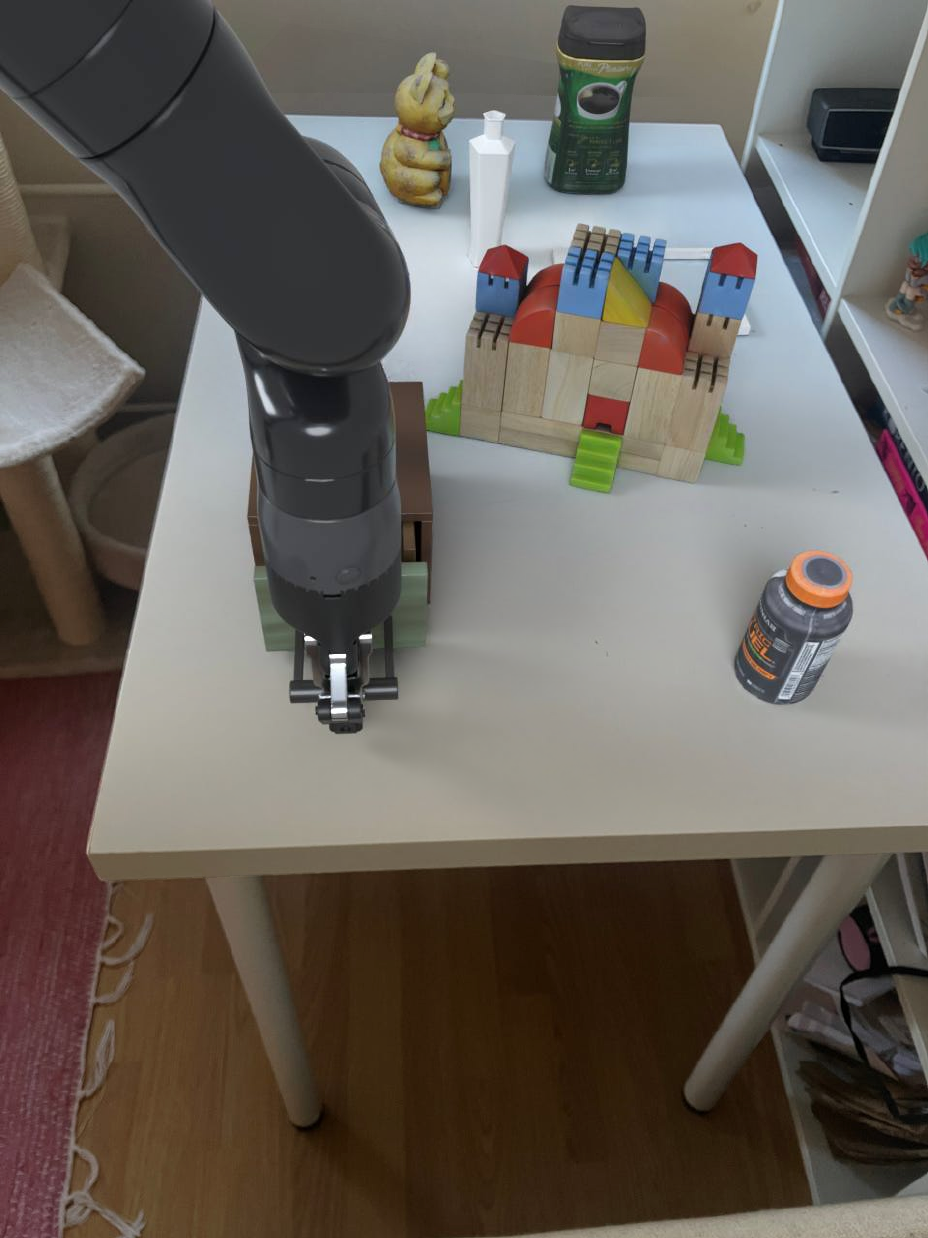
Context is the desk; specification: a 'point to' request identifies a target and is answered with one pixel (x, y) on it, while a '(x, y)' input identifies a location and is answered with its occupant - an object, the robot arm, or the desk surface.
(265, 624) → the drawer
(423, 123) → the decorative figurine
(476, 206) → the perfume bottle
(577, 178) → the coffee jar
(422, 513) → the cabinet
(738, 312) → the block set
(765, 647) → the pill bottle
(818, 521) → the desk surface
